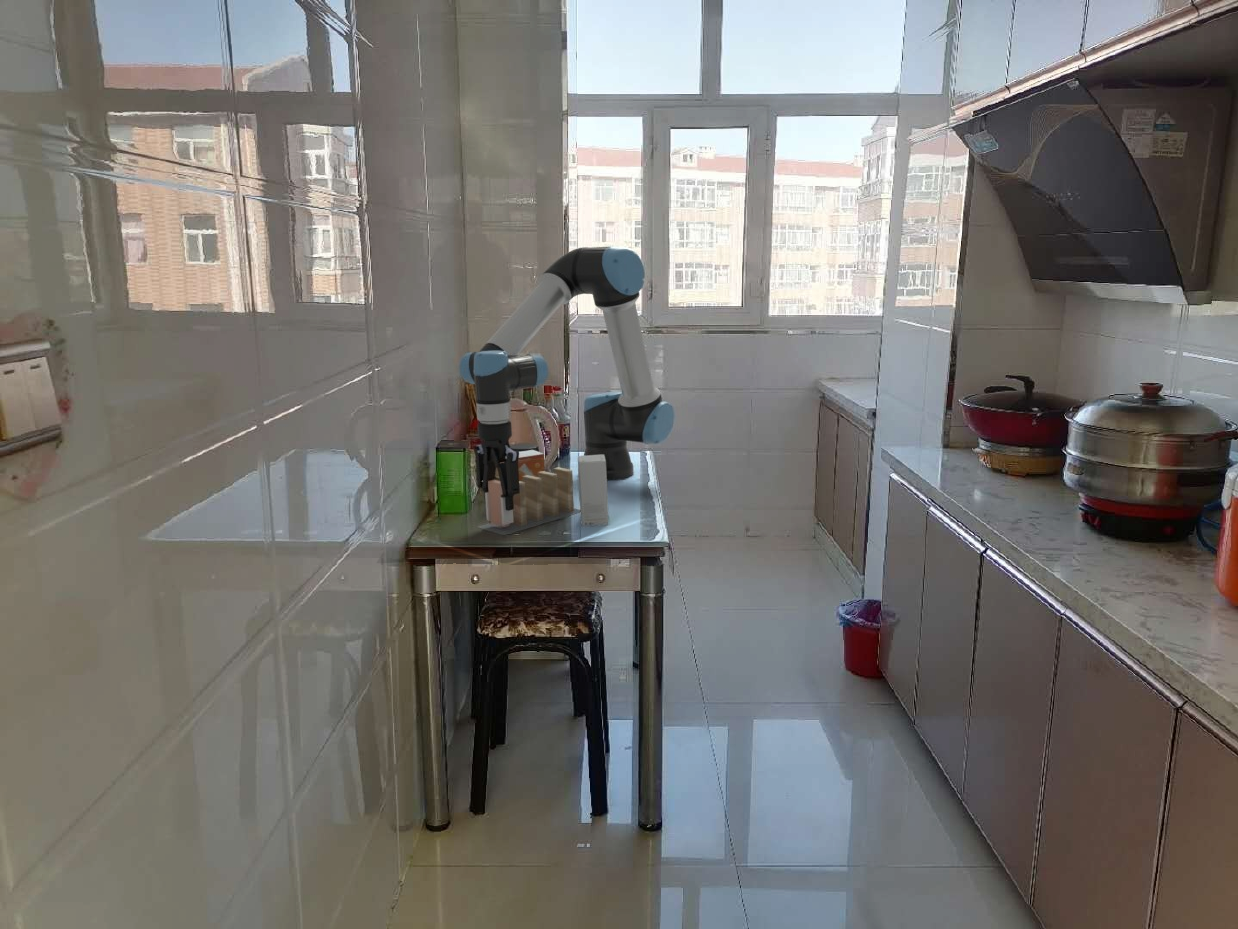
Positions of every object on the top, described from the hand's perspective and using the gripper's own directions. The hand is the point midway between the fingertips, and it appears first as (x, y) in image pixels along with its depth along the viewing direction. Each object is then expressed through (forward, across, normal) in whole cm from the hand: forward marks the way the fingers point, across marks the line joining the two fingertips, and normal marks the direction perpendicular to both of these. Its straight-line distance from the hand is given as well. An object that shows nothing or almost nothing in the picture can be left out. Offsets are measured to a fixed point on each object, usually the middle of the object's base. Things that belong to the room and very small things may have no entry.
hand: (499, 521), depth 212 cm
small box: (+3, -13, +19) cm, 23 cm away
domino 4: (+2, 0, +15) cm, 15 cm away
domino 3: (+2, 0, +10) cm, 10 cm away
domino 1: (+1, 0, 0) cm, 1 cm away
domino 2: (+2, 0, +5) cm, 5 cm away
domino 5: (+2, 0, +20) cm, 20 cm away
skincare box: (+2, +12, +18) cm, 22 cm away
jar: (+2, -24, +28) cm, 37 cm away
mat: (+2, 0, +10) cm, 10 cm away
